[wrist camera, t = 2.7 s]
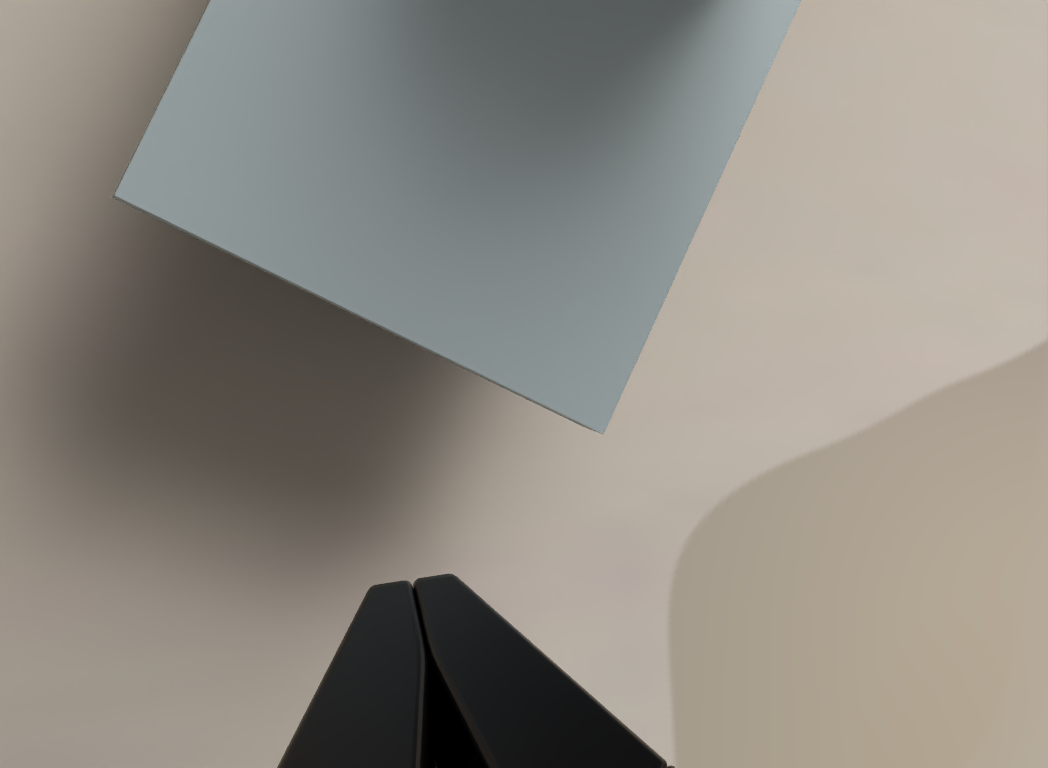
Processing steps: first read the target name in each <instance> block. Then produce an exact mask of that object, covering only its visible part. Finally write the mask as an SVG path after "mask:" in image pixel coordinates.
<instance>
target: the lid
mask: <svg viewBox="0 0 1048 768" xmlns="http://www.w3.org/2000/svg"><path fill="white" fill-rule="evenodd" d="M800 2H801V0H210V1H209V3H208V5H207V7H206V9H205V11H204V13H203V15H202V17H201V19H200V21H199V23H198V25H197V27H196V29H195V31H194V33H193V35H192V37H191V39H190V41H189V43H188V45H187V47H186V49H185V51H184V53H183V56H182V58H181V60H180V62H179V64H178V66H177V68H176V70H175V72H174V74H173V76H172V78H171V80H170V82H169V84H168V86H167V88H166V90H165V92H164V94H163V96H162V98H161V100H160V102H159V104H158V106H157V108H156V110H155V112H154V114H153V116H152V118H151V120H150V122H149V124H148V126H147V128H146V130H145V132H144V134H143V136H142V138H141V141H140V143H139V145H138V147H137V149H136V151H135V153H134V155H133V157H132V159H131V161H130V163H129V165H128V167H127V169H126V171H125V173H124V175H123V177H122V179H121V181H120V183H119V185H118V187H117V189H116V191H115V193H114V195H113V198H115V199H117V200H119V201H121V202H123V203H125V204H127V205H129V206H131V207H133V208H135V209H138V210H140V211H142V212H144V213H146V214H148V215H150V216H152V217H154V218H156V219H158V220H160V221H162V222H164V223H166V224H168V225H170V226H172V227H174V228H177V229H179V230H181V231H183V232H185V233H187V234H189V235H191V236H193V237H195V238H197V239H199V240H201V241H203V242H205V243H207V244H209V245H211V246H213V247H216V248H218V249H220V250H222V251H224V252H226V253H228V254H230V255H232V256H234V257H236V258H238V259H240V260H242V261H244V262H246V263H248V264H250V265H252V266H254V267H257V268H259V269H261V270H263V271H265V272H267V273H269V274H271V275H273V276H275V277H277V278H279V279H281V280H283V281H285V282H287V283H289V284H291V285H293V286H296V287H298V288H300V289H302V290H304V291H306V292H308V293H310V294H312V295H314V296H316V297H318V298H320V299H322V300H324V301H326V302H328V303H330V304H332V305H335V306H337V307H339V308H341V309H343V310H345V311H347V312H349V313H351V314H353V315H355V316H357V317H359V318H361V319H363V320H365V321H367V322H369V323H371V324H373V325H376V326H378V327H380V328H382V329H384V330H386V331H388V332H390V333H392V334H394V335H396V336H398V337H400V338H402V339H404V340H406V341H408V342H410V343H412V344H415V345H417V346H419V347H421V348H423V349H425V350H427V351H429V352H431V353H433V354H435V355H437V356H439V357H441V358H443V359H445V360H447V361H449V362H451V363H454V364H456V365H458V366H460V367H462V368H464V369H466V370H468V371H470V372H472V373H474V374H476V375H478V376H480V377H482V378H484V379H486V380H488V381H490V382H493V383H495V384H497V385H499V386H501V387H503V388H505V389H507V390H509V391H511V392H513V393H515V394H517V395H519V396H521V397H523V398H525V399H527V400H529V401H531V402H534V403H536V404H538V405H540V406H542V407H544V408H546V409H548V410H550V411H552V412H554V413H556V414H558V415H560V416H562V417H564V418H566V419H568V420H570V421H573V422H575V423H577V424H579V425H581V426H583V427H586V428H588V429H591V430H593V431H596V432H599V433H601V434H604V432H605V430H606V428H607V425H608V423H609V421H610V419H611V417H612V414H613V412H614V410H615V408H616V406H617V403H618V401H619V399H620V397H621V395H622V392H623V390H624V388H625V386H626V384H627V381H628V379H629V377H630V375H631V373H632V370H633V368H634V366H635V364H636V362H637V359H638V357H639V355H640V353H641V351H642V348H643V346H644V344H645V342H646V340H647V337H648V335H649V333H650V331H651V329H652V327H653V324H654V322H655V320H656V318H657V316H658V313H659V311H660V309H661V307H662V305H663V302H664V300H665V298H666V296H667V294H668V291H669V289H670V287H671V285H672V283H673V280H674V278H675V276H676V274H677V272H678V269H679V267H680V265H681V263H682V261H683V258H684V256H685V254H686V252H687V250H688V247H689V245H690V243H691V241H692V239H693V237H694V234H695V232H696V230H697V228H698V226H699V223H700V221H701V219H702V217H703V215H704V212H705V210H706V208H707V206H708V204H709V201H710V199H711V197H712V195H713V193H714V190H715V188H716V186H717V184H718V182H719V179H720V177H721V175H722V173H723V171H724V168H725V166H726V164H727V162H728V160H729V157H730V155H731V153H732V151H733V149H734V146H735V144H736V142H737V140H738V138H739V136H740V133H741V131H742V129H743V127H744V125H745V122H746V120H747V118H748V116H749V114H750V111H751V109H752V107H753V105H754V103H755V100H756V98H757V96H758V94H759V92H760V89H761V87H762V85H763V83H764V81H765V78H766V76H767V74H768V72H769V70H770V67H771V65H772V63H773V61H774V59H775V56H776V54H777V52H778V50H779V48H780V45H781V43H782V41H783V39H784V37H785V35H786V32H787V30H788V28H789V26H790V24H791V21H792V19H793V17H794V15H795V13H796V10H797V8H798V6H799V4H800Z"/></svg>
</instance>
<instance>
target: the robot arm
mask: <svg viewBox="0 0 1048 768" xmlns="http://www.w3.org/2000/svg"><path fill="white" fill-rule="evenodd" d="M277 768H675V767H674V766H668V767H667V763H666V761H665V760H664V759H663V758H662V757H661V756H659V755H658V754H657V753H656V752H655V751H654V750H653V749H652V748H650V747H649V746H648V745H647V744H646V743H645V742H644V741H642V740H641V739H640V738H639V737H638V736H637V735H636V734H635V733H633V732H632V731H631V730H630V729H629V728H628V727H627V726H625V725H624V724H623V723H622V722H621V721H620V720H619V719H618V718H616V717H615V716H614V715H613V714H612V713H611V712H610V711H608V710H607V709H606V708H605V707H604V706H603V705H602V704H601V703H599V702H598V701H597V700H596V699H595V698H594V697H593V696H591V695H590V694H589V693H588V692H587V691H586V690H585V689H584V688H582V687H581V686H580V685H579V684H578V683H577V682H576V681H574V680H573V679H572V678H571V677H570V676H569V675H568V674H567V673H565V672H564V671H563V670H562V669H561V668H560V667H559V666H557V665H556V664H555V663H554V662H553V661H552V660H551V659H550V658H548V657H547V656H546V655H545V654H544V653H543V652H542V651H540V650H539V649H538V648H537V647H536V646H535V645H534V644H533V643H531V642H530V641H529V640H528V639H527V638H526V637H525V636H523V635H522V634H521V633H520V632H519V631H518V630H517V629H516V628H514V627H513V626H512V625H511V624H510V623H509V622H508V621H506V620H505V619H504V618H503V617H502V616H501V615H500V614H499V613H497V612H496V611H495V610H494V609H493V608H492V607H491V606H489V605H488V604H487V603H486V602H485V601H484V600H483V599H482V598H480V597H479V596H478V595H477V594H476V593H475V592H474V591H472V590H471V589H470V588H469V587H468V586H467V585H466V584H465V583H463V582H462V581H461V580H460V579H459V578H458V577H456V576H455V575H453V574H444V575H437V576H431V577H424V578H419V579H417V580H416V581H415V582H414V584H413V587H412V584H411V583H410V582H408V581H398V582H391V583H385V584H378V585H374V586H372V587H370V589H369V590H368V592H367V593H366V595H365V597H364V599H363V601H362V603H361V605H360V607H359V609H358V611H357V613H356V615H355V617H354V619H353V621H352V623H351V624H350V626H349V628H348V630H347V632H346V634H345V636H344V638H343V640H342V642H341V644H340V646H339V648H338V650H337V652H336V654H335V656H334V658H333V660H332V662H331V664H330V665H329V667H328V669H327V671H326V673H325V675H324V677H323V679H322V681H321V683H320V685H319V687H318V689H317V691H316V693H315V695H314V697H313V699H312V701H311V703H310V705H309V706H308V708H307V710H306V712H305V714H304V716H303V718H302V720H301V722H300V724H299V726H298V728H297V730H296V732H295V734H294V736H293V738H292V740H291V742H290V744H289V746H288V747H287V749H286V751H285V753H284V755H283V757H282V759H281V761H280V763H279V765H278V767H277Z"/></svg>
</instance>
